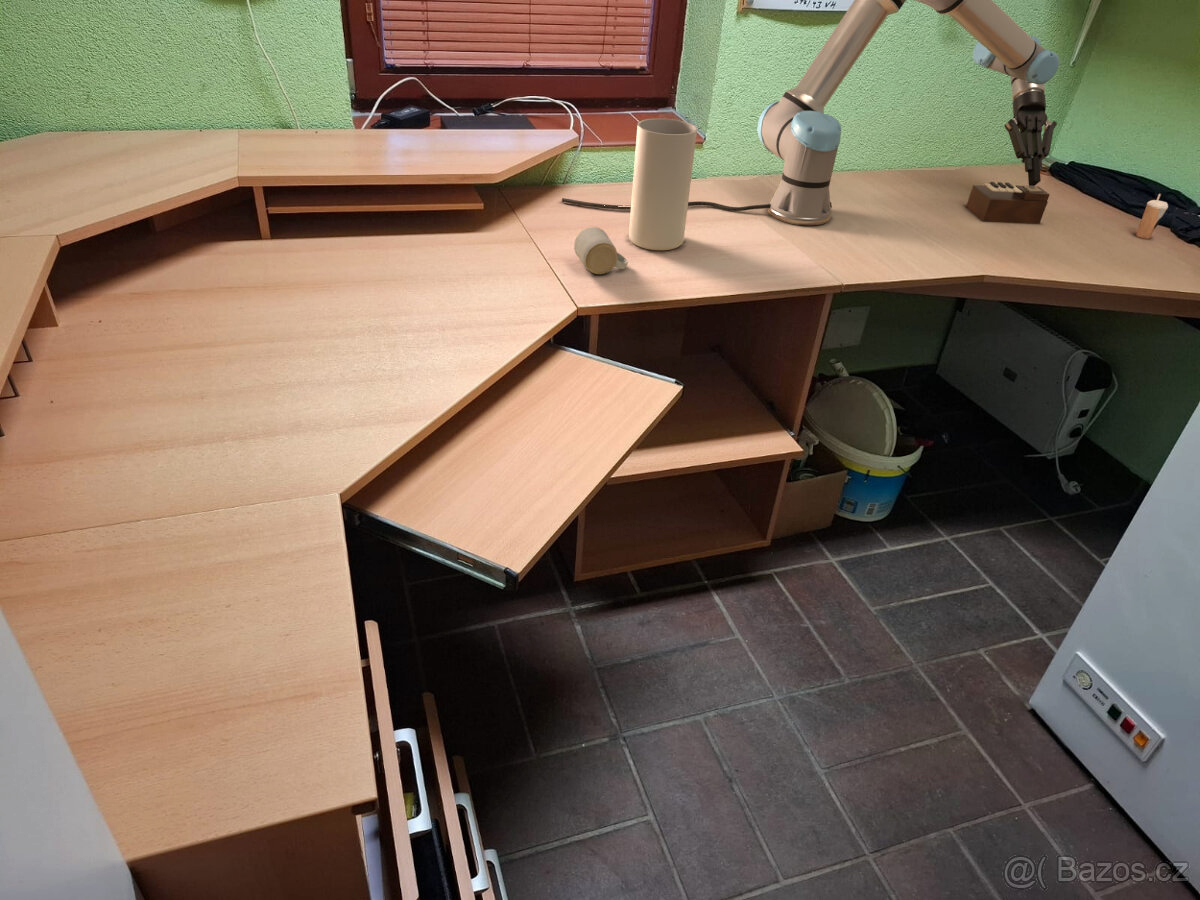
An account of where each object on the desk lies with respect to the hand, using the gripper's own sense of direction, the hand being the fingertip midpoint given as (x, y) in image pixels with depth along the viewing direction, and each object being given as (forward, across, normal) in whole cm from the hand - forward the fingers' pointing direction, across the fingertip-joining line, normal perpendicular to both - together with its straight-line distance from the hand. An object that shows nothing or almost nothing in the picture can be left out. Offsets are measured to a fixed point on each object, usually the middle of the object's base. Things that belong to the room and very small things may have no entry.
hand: (1034, 183), depth 206 cm
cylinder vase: (+25, +99, +12) cm, 102 cm away
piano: (+5, +5, -8) cm, 10 cm away
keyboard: (+1, +8, -1) cm, 8 cm away
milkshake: (+13, -27, 0) cm, 30 cm away
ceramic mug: (+36, +112, +24) cm, 120 cm away
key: (+2, 0, -2) cm, 3 cm away
